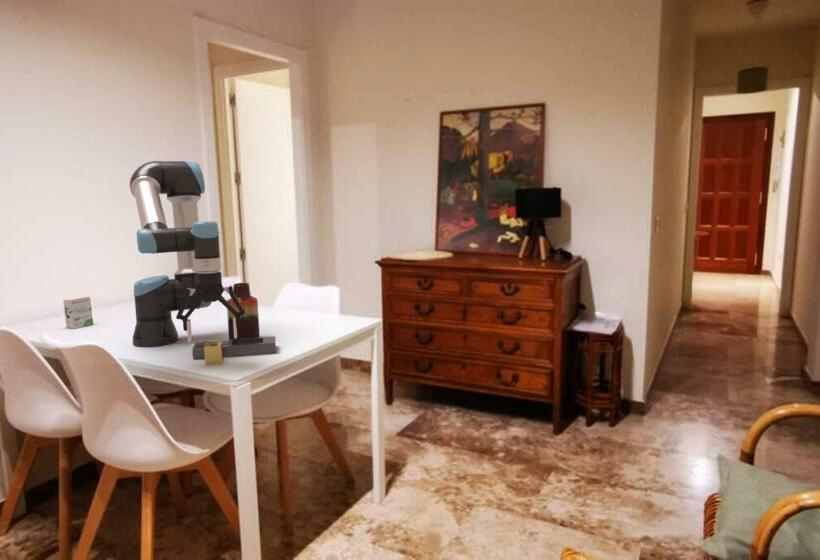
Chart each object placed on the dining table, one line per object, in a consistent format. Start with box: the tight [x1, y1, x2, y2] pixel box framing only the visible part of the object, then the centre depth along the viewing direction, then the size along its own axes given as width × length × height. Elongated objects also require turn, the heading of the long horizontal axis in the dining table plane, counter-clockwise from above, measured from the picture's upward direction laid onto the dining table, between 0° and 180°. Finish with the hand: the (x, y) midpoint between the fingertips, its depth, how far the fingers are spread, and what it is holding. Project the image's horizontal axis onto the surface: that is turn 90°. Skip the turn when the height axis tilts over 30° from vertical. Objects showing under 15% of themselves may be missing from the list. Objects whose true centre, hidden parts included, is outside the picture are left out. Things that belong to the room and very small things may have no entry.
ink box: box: [63, 296, 94, 330], centre depth 232 cm, size 9×5×12 cm, turn 148°
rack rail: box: [192, 335, 277, 360], centre depth 192 cm, size 26×9×4 cm, turn 104°
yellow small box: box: [204, 340, 224, 367], centre depth 181 cm, size 5×5×7 cm
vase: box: [226, 282, 260, 340], centre depth 208 cm, size 11×11×20 cm
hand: (213, 339), depth 180 cm, fingers open, 13 cm apart
